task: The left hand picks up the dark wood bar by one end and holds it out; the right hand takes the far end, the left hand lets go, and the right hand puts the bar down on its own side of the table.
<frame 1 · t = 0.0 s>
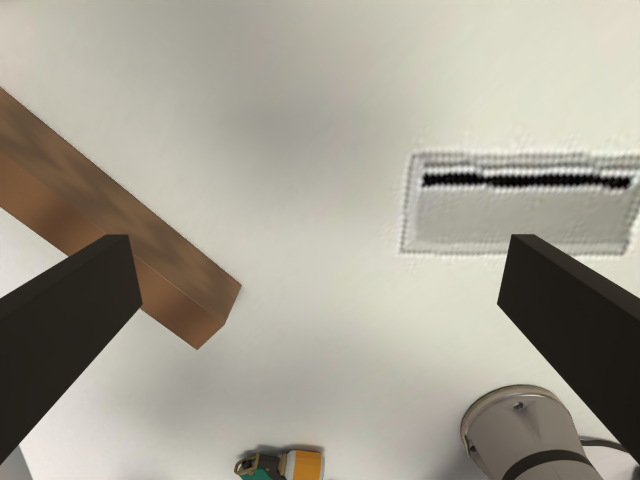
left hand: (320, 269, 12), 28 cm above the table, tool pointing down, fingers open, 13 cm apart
spray gun: (293, 476, 57), on the table
bar: (109, 200, 40), on the table
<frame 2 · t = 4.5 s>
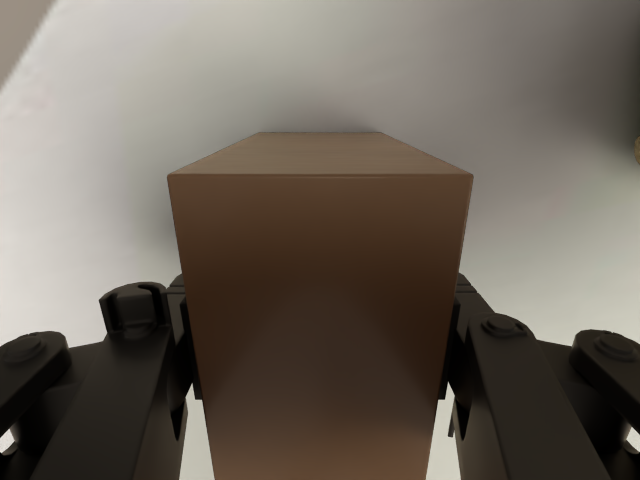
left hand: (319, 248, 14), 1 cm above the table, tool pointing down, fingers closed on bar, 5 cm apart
bar: (320, 466, 20), on the table, touching left hand
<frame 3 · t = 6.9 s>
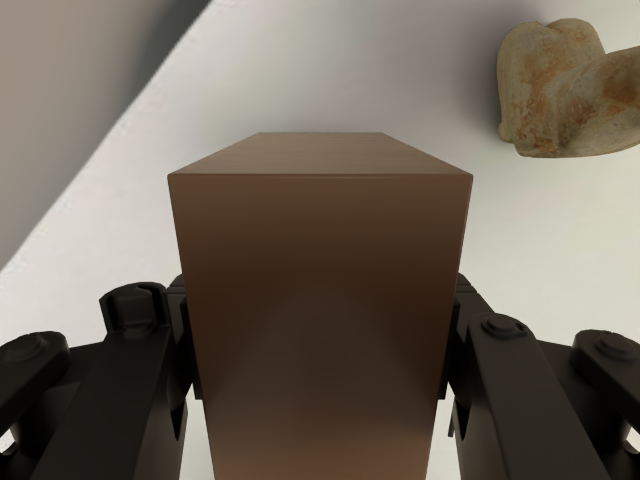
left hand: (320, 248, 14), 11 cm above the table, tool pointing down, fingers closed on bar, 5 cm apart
bar: (320, 466, 20), point 10 cm above the table, touching left hand
sculpture: (523, 91, 22), on the table
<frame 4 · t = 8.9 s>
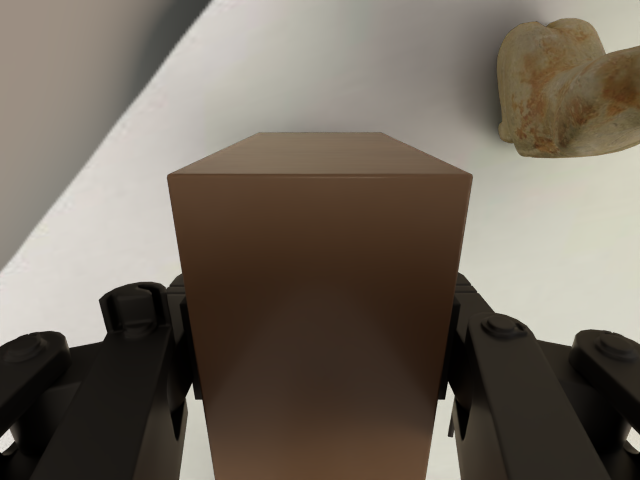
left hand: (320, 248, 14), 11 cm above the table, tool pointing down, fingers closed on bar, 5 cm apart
bar: (320, 465, 20), point 10 cm above the table, touching left hand, right hand
sculpture: (523, 91, 22), on the table
when the left hand's fingers open (11 cm above the table, at t = 9.5 s): bar stays where it is, held by the right hand.
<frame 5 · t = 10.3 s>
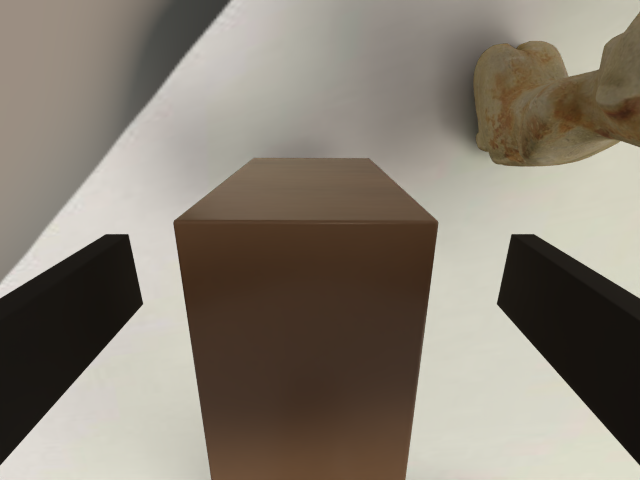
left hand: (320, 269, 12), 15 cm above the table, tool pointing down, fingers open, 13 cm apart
bar: (312, 473, 20), point 12 cm above the table, touching right hand
sculpture: (498, 104, 24), on the table
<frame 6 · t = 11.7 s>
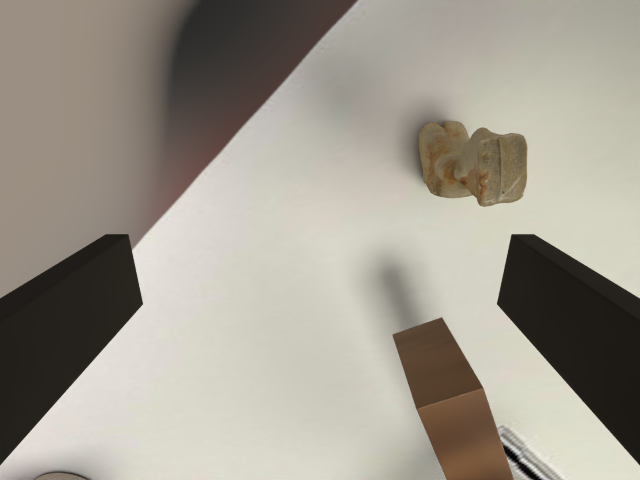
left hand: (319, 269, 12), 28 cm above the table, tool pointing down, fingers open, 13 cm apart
bar: (467, 456, 37), point 13 cm above the table, touching right hand
sculpture: (436, 155, 39), on the table
when the right hand's fingers open (2 cm above the table, at t = 14.8 s): bar drops 1 cm, on the table.
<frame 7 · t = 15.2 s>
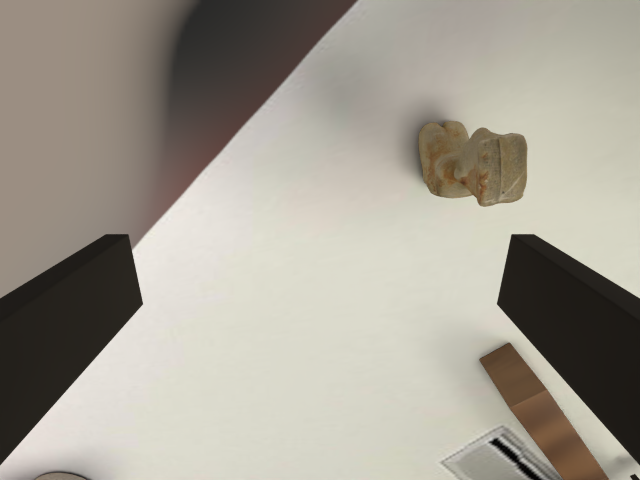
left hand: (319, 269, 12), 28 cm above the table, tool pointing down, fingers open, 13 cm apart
bar: (549, 427, 53), on the table
sculpture: (436, 155, 39), on the table
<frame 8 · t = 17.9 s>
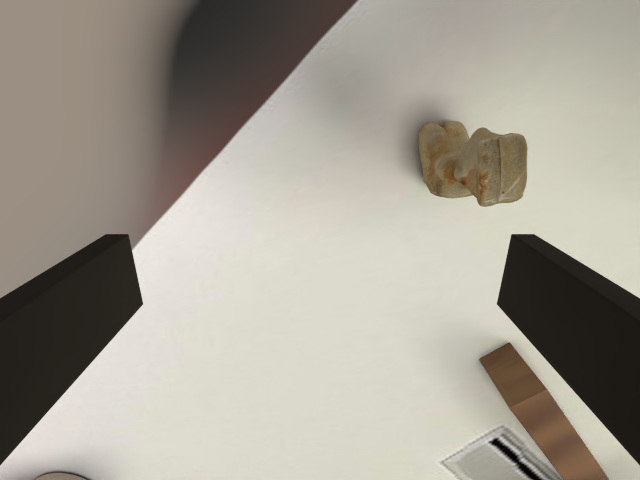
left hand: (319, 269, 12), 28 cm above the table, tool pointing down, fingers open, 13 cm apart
bar: (549, 427, 53), on the table
sculpture: (436, 155, 39), on the table
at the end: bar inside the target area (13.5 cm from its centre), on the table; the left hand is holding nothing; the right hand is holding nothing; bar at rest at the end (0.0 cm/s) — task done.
